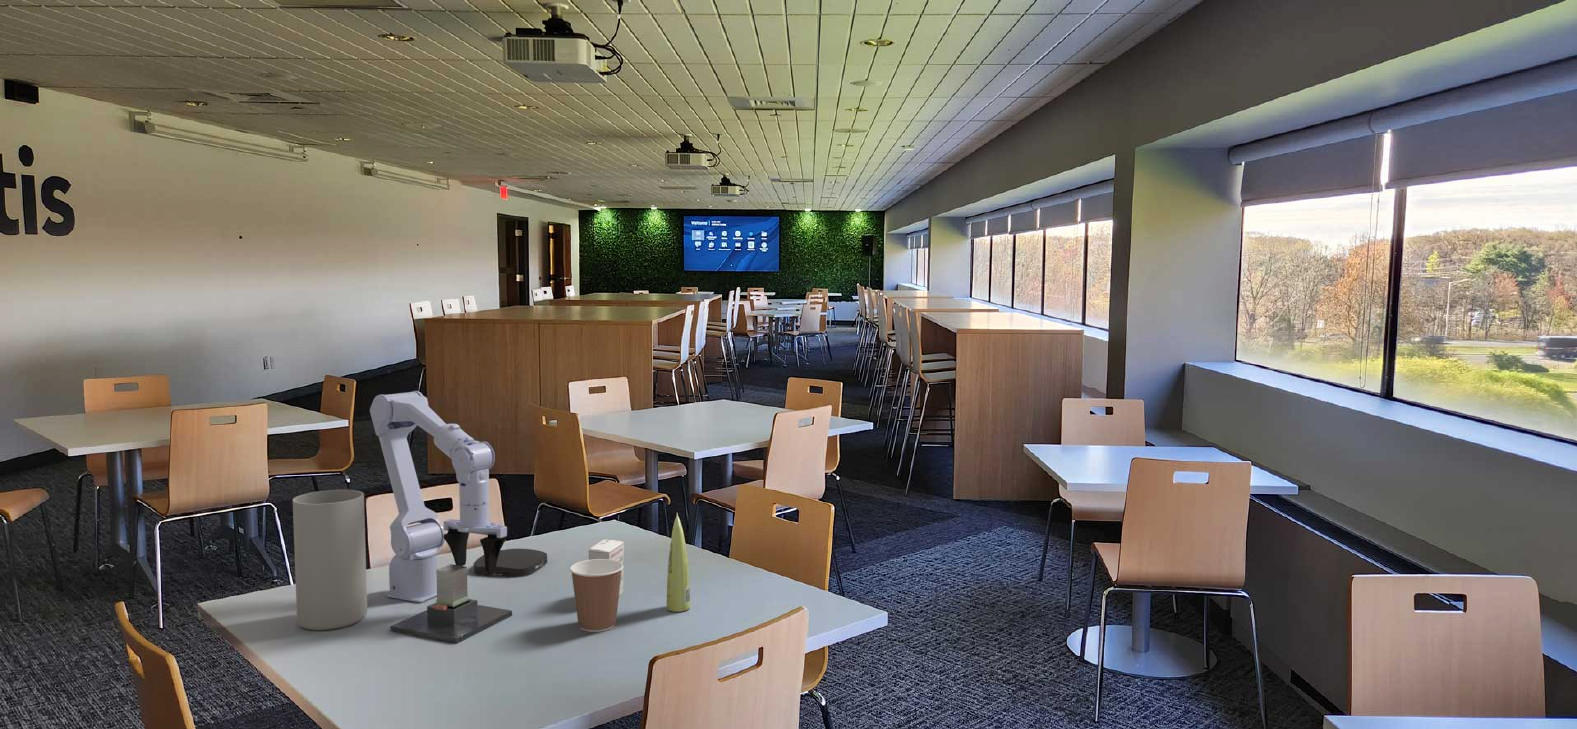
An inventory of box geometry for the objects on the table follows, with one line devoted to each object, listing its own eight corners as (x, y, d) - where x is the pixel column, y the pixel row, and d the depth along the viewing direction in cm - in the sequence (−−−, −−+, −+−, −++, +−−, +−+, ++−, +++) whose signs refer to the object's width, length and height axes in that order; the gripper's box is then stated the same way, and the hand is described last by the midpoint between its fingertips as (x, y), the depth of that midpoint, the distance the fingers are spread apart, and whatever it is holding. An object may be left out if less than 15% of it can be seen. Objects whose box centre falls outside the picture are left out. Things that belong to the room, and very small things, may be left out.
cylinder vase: (282, 626, 176) (277, 500, 174) (334, 605, 188) (330, 487, 186) (331, 635, 172) (326, 506, 170) (381, 613, 184) (378, 493, 181)
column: (436, 604, 177) (435, 570, 177) (451, 598, 181) (450, 564, 181) (453, 607, 176) (452, 572, 175) (468, 600, 180) (467, 566, 179)
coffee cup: (633, 620, 181) (632, 562, 180) (606, 638, 172) (606, 577, 171) (588, 613, 185) (588, 556, 184) (560, 631, 175) (559, 571, 174)
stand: (390, 631, 174) (390, 608, 174) (449, 604, 189) (449, 583, 189) (456, 643, 169) (455, 619, 168) (512, 615, 183) (511, 593, 183)
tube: (659, 608, 188) (659, 516, 187) (677, 602, 192) (677, 511, 191) (677, 614, 185) (677, 521, 183) (695, 608, 189) (696, 516, 187)
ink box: (609, 606, 189) (608, 551, 188) (586, 604, 190) (586, 549, 189) (624, 593, 198) (624, 539, 197) (603, 591, 199) (602, 538, 198)
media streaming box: (496, 558, 223) (496, 546, 223) (552, 561, 221) (552, 549, 221) (467, 576, 209) (467, 563, 209) (527, 579, 207) (527, 567, 207)
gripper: (432, 503, 182) (433, 569, 183) (489, 510, 177) (490, 578, 178) (456, 496, 189) (458, 559, 190) (513, 502, 183) (514, 568, 185)
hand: (475, 568), depth 184 cm, fingers open, 7 cm apart
